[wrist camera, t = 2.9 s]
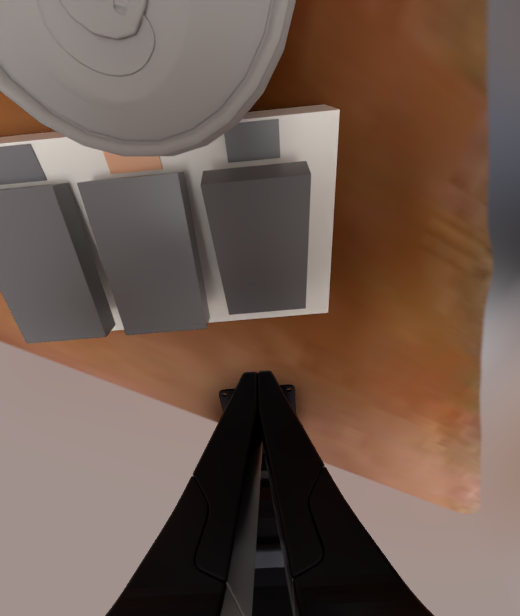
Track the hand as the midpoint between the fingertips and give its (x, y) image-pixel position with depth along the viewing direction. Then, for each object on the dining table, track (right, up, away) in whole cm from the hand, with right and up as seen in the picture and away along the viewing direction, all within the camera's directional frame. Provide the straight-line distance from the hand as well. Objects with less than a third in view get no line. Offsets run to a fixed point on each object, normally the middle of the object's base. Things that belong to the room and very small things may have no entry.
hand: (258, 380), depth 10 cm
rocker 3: (0, +5, +5) cm, 7 cm away
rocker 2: (-5, +4, +5) cm, 8 cm away
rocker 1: (-10, +4, +5) cm, 12 cm away
